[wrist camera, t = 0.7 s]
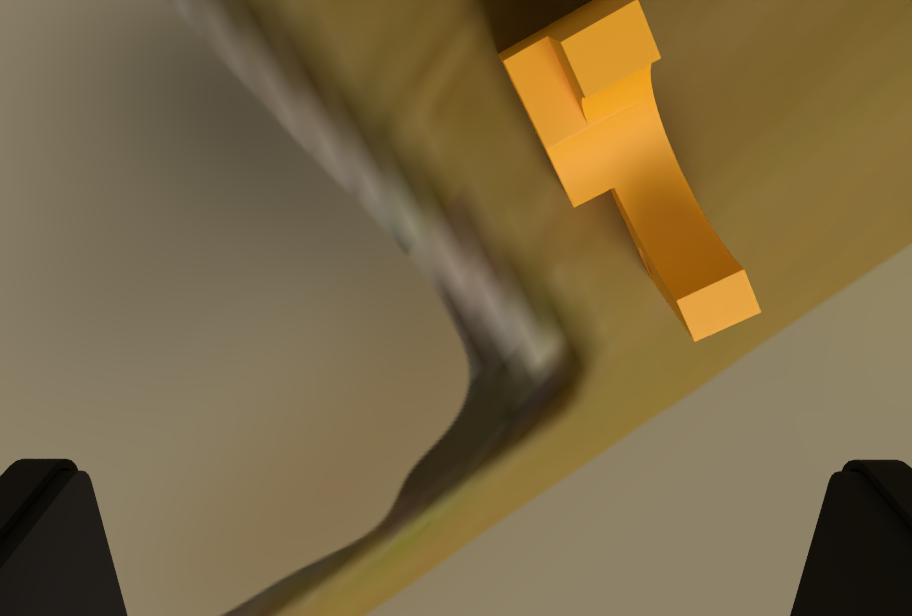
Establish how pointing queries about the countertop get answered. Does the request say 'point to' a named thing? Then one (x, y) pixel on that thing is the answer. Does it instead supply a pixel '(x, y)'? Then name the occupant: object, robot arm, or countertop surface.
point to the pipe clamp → (626, 153)
